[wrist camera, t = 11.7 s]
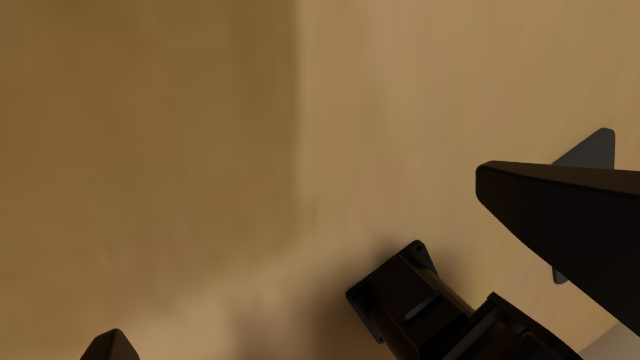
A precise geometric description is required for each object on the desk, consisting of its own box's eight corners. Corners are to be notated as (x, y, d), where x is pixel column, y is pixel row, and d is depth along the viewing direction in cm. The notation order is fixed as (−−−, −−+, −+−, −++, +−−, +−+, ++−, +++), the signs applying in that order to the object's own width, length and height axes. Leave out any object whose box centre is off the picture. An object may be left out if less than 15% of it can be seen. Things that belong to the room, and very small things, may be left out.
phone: (557, 289, 36) (546, 174, 28) (549, 283, 37) (537, 170, 29) (611, 246, 37) (616, 123, 29) (603, 242, 38) (605, 120, 30)
